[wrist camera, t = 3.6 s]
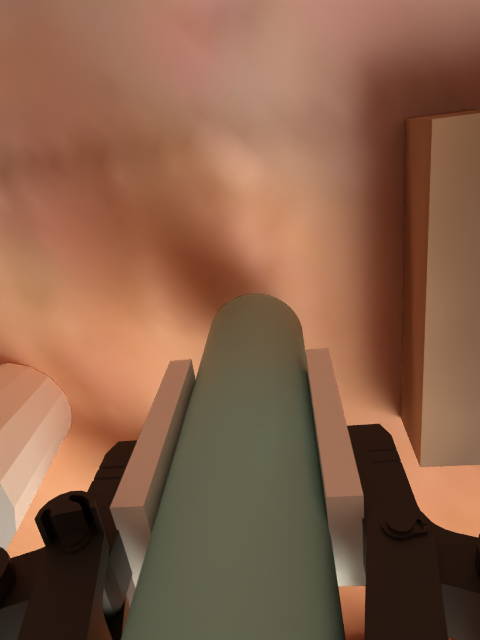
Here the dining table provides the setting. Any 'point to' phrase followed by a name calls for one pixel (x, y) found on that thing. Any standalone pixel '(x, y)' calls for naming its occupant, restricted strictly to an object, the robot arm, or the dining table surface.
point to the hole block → (442, 288)
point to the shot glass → (27, 439)
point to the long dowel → (243, 497)
